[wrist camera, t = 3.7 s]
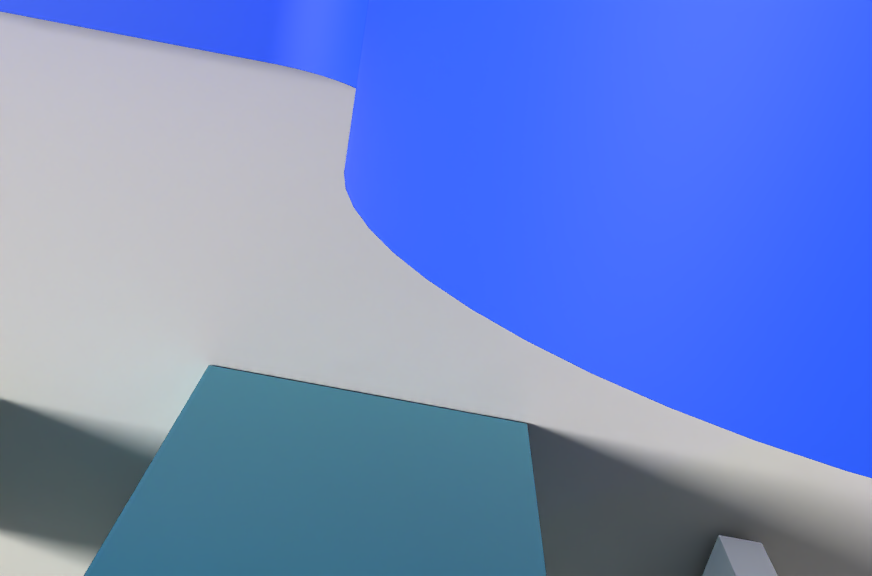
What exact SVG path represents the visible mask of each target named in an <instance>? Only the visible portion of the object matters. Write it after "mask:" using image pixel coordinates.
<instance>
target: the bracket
mask: <svg viewBox="0 0 872 576" xmlns="http://www.w3.org/2000/svg"><path fill="white" fill-rule="evenodd" d="M0 11H1V12H6V13H12V14H17V15H22V16H27V17H32V18H38V19H43V20H48V21H53V22H59V23H64V24H69V25H74V26H80V27H85V28H90V29H95V30H100V31H106V32H111V33H116V34H121V35H127V36H132V37H137V38H142V39H148V40H153V41H158V42H163V43H168V44H174V45H179V46H184V47H189V48H195V49H200V50H205V51H210V52H216V53H221V54H226V55H231V56H236V57H242V58H247V59H252V60H257V61H263V62H268V63H273V64H278V65H282V66H287V67H292V68H296V69H300V70H304V71H308V72H311V73H315V74H318V75H322V76H325V77H328V78H331V79H334V80H337V81H340V82H343V83H345V84H347V85H350V86H352V87H354V88H356V94H355V101H354V108H353V115H352V121H351V128H350V135H349V142H348V149H347V156H346V163H345V170H344V177H345V187H346V190H347V193H348V195H349V197H350V200H351V202H352V204H353V207H354V208H355V209H356V211H357V212H358V214H359V215H360V216H361V218H362V219H363V220H364V222H365V223H366V225H367V226H368V227H369V229H370V230H371V231H372V232H373V233H374V234H375V235H376V236H377V237H378V238H379V239H380V240H381V241H382V242H383V243H384V244H385V245H386V246H387V247H388V248H389V249H390V250H391V251H392V252H393V253H395V254H396V255H397V256H398V257H400V258H401V259H402V260H403V261H405V262H406V263H407V264H408V265H410V266H411V267H412V268H413V269H415V270H416V271H417V272H418V273H420V274H421V275H422V276H423V277H425V278H426V279H427V280H429V281H430V282H432V283H433V284H435V285H436V286H438V287H439V288H441V289H442V290H444V291H445V292H447V293H448V294H450V295H451V296H453V297H454V298H456V299H457V300H459V301H460V302H462V303H463V304H465V305H466V306H468V307H469V308H471V309H472V310H474V311H476V312H477V313H479V314H481V315H483V316H484V317H486V318H488V319H490V320H491V321H493V322H495V323H497V324H498V325H500V326H502V327H504V328H505V329H507V330H509V331H511V332H512V333H514V334H516V335H517V336H519V337H521V338H523V339H524V340H526V341H528V342H530V343H532V344H534V345H536V346H538V347H540V348H542V349H544V350H546V351H548V352H550V353H552V354H554V355H556V356H558V357H560V358H562V359H564V360H566V361H568V362H570V363H572V364H574V365H576V366H578V367H580V368H582V369H584V370H586V371H588V372H590V373H592V374H594V375H597V376H599V377H601V378H603V379H606V380H608V381H610V382H613V383H615V384H617V385H619V386H622V387H624V388H626V389H629V390H631V391H633V392H635V393H638V394H640V395H642V396H644V397H647V398H649V399H651V400H654V401H656V402H658V403H660V404H663V405H665V406H667V407H670V408H672V409H675V410H677V411H680V412H683V413H685V414H688V415H690V416H693V417H696V418H698V419H701V420H703V421H706V422H709V423H711V424H714V425H716V426H719V427H722V428H724V429H727V430H729V431H732V432H735V433H737V434H740V435H742V436H745V437H748V438H750V439H753V440H755V441H758V442H761V443H764V444H767V445H770V446H773V447H776V448H779V449H782V450H785V451H788V452H791V453H794V454H797V455H800V456H803V457H806V458H809V459H812V460H815V461H818V462H821V463H824V464H827V465H830V466H833V467H836V468H839V469H842V470H845V471H849V472H852V473H856V474H859V475H863V476H866V477H870V478H872V0H0Z"/></svg>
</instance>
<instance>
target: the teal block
mask: <svg viewBox="0 0 872 576" xmlns="http://www.w3.org/2000/svg"><path fill="white" fill-rule="evenodd" d="M84 576H546V569H545V561H544V553H543V545H542V537H541V529H540V521H539V514H538V506H537V498H536V490H535V482H534V474H533V466H532V458H531V450H530V442H529V434H528V427H527V424H526V423H520V422H515V421H509V420H504V419H498V418H493V417H488V416H482V415H477V414H471V413H466V412H460V411H455V410H450V409H444V408H439V407H433V406H428V405H422V404H417V403H412V402H406V401H401V400H395V399H390V398H384V397H379V396H374V395H368V394H363V393H357V392H352V391H346V390H341V389H336V388H330V387H325V386H319V385H314V384H308V383H303V382H298V381H292V380H287V379H281V378H276V377H270V376H265V375H260V374H254V373H249V372H243V371H238V370H232V369H227V368H222V367H216V366H211V365H209V366H208V368H207V369H206V371H205V373H204V374H203V376H202V378H201V379H200V381H199V383H198V384H197V386H196V388H195V389H194V391H193V393H192V394H191V396H190V398H189V400H188V401H187V403H186V405H185V406H184V408H183V410H182V411H181V413H180V415H179V416H178V418H177V420H176V421H175V423H174V425H173V426H172V428H171V430H170V432H169V433H168V435H167V437H166V438H165V440H164V442H163V443H162V445H161V447H160V448H159V450H158V452H157V453H156V455H155V457H154V458H153V460H152V462H151V463H150V465H149V467H148V469H147V470H146V472H145V474H144V475H143V477H142V479H141V480H140V482H139V484H138V485H137V487H136V489H135V490H134V492H133V494H132V495H131V497H130V499H129V501H128V502H127V504H126V506H125V507H124V509H123V511H122V512H121V514H120V516H119V517H118V519H117V521H116V522H115V524H114V526H113V527H112V529H111V531H110V532H109V534H108V536H107V538H106V539H105V541H104V543H103V544H102V546H101V548H100V549H99V551H98V553H97V554H96V556H95V558H94V559H93V561H92V563H91V564H90V566H89V568H88V570H87V571H86V573H85V575H84Z"/></svg>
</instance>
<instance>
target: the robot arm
mask: <svg viewBox="0 0 872 576" xmlns="http://www.w3.org/2000/svg"><path fill="white" fill-rule="evenodd" d="M702 576H778V575H777V573H776V571H775V569H774V567H773V565H772V563H771V561H770V559H769V557H768V555H767V553H766V551H765V549H764V547H763V544H762V543H760V542H755V541H749V540H744V539H738V538H732V537H727V536H721V535H719V536H718V538H717V540H716V543H715V545H714V548H713V550H712V553H711V555H710V558H709V560H708V562H707V565H706V567H705V570H704V572H703V575H702Z"/></svg>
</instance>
